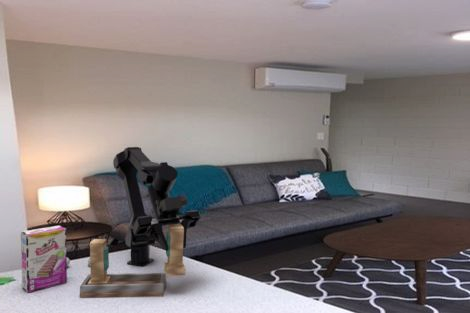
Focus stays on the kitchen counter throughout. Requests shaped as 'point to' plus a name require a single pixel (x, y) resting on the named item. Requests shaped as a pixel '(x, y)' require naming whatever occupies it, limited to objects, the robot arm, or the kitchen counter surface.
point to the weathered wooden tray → (117, 278)
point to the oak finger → (175, 251)
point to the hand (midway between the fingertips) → (176, 248)
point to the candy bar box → (43, 258)
